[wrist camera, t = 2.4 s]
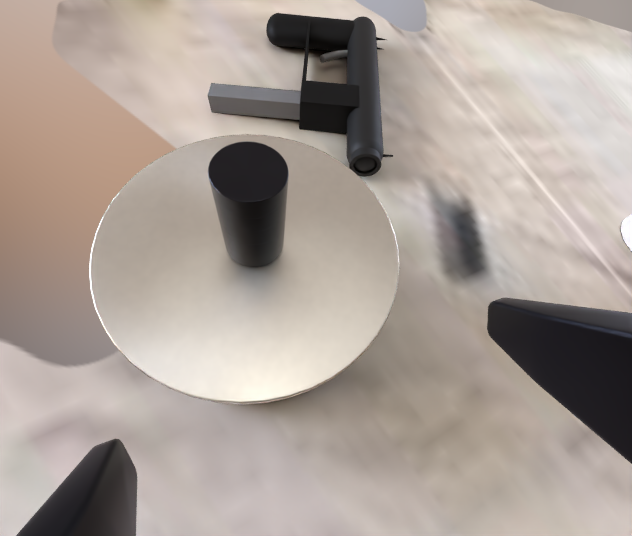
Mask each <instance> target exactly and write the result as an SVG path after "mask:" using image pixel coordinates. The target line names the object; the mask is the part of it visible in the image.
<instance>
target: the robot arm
mask: <svg viewBox="0 0 632 536" xmlns="http://www.w3.org/2000/svg"><path fill="white" fill-rule="evenodd" d="M487 330H488V333H489V335H490V337H491V338H492V339H493V340H494V341H495V342H496V343H497V344H498V345H499V346H500V347H501V348H502V349H503V350H504V351H505V352H506V353H507V354H508V355H509V356H510V357H511V358H512V359H513V360H514V361H515V362H516V363H517V364H518V365H519V366H520V367H521V368H522V369H523V370H524V371H525V372H526V373H527V374H528V375H529V376H530V377H531V378H532V379H533V380H534V381H535V382H536V383H537V384H538V385H540V386H541V387H542V388H543V389H544V390H545V391H547V392H548V393H549V394H550V395H551V396H552V397H554V398H555V399H556V400H557V401H558V402H559V403H561V404H562V405H563V406H564V407H565V408H567V409H568V410H569V411H570V412H571V413H572V414H574V415H575V416H576V417H577V418H578V419H580V420H581V421H582V422H583V423H584V424H585V425H587V426H588V427H589V428H590V429H591V430H592V431H594V432H595V433H596V434H597V435H598V436H600V437H601V438H602V439H603V440H604V441H605V442H607V443H608V444H609V445H610V446H611V447H613V448H614V449H615V450H616V451H617V452H618V453H620V454H621V455H622V456H623V457H624V458H625V459H627V460H628V461H629V462H630V463H631V464H632V313H627V312H619V311H611V310H602V309H594V308H586V307H578V306H570V305H562V304H554V303H545V302H537V301H529V300H521V299H513V298H501V299H498V300H495V301H493V302H491V303H490V304H489V306H488V324H487ZM136 507H137V473H136V469H135V466H134V464H133V462H132V460H131V458H130V456H129V454H128V453H127V451H126V449H125V447H124V445H123V443H122V442H121V441H120V440H119V439H113V440H110V441H108V442H105V443H102V444H99V445H97V446H95V447H94V448H92V450H90V452H89V453H88V454H87V455H86V456H85V457H84V458H83V460H82V461H81V462H80V463H79V464H78V465H77V467H76V468H75V469H74V470H73V471H72V472H71V473H70V475H69V476H68V477H67V478H66V479H65V480H64V481H63V483H62V484H61V485H60V486H59V487H58V488H57V489H56V491H55V492H54V493H53V494H52V495H51V496H50V497H49V499H48V500H47V501H46V502H45V503H44V504H43V505H42V507H41V508H40V509H39V510H38V511H37V512H36V514H35V515H34V516H33V517H32V518H31V519H30V520H29V522H28V523H27V524H26V525H25V526H24V527H23V528H22V530H21V531H20V532H19V533H18V534H17V535H16V536H136Z"/></svg>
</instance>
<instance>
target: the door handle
mask: <svg viewBox="0 0 632 536" xmlns="http://www.w3.org/2000/svg"><path fill="white" fill-rule="evenodd" d="M267 36H268V38H269V40H270V42H271V43H272V44H274V45H277V46H286V47H297V48H306V49H305V58H304V68H303V78H302V86H301V91H293V90H282V89H271V88H260V87H249V86H237V85H226V84H215V83H211V86H210V89H209V93H208V99H209V103H210V107H211V111H212V112H214V113H226V114H237V115H249V116H260V117H272V118H283V119H295V120H300V121H299V129H303V130H315V131H326V132H338V133H347V159H348V162H349V163H350V169H351V170H352V171H353V172H354V173H356V174H357V175H358V176H363V177H365V176H371V175H373V174H375V173H376V172H378V171H379V169H380V167H381V160H382V158H383V157H387V156H390V157H393V155H385V154H383V137H382V121H381V106H380V90H379V74H378V58H377V49H382V48H377V43H376V40H386V39H381V38H377V37H376V29H375V25H374V23H373V22H372V21H371V20H370V19H369V18H367V17H358V18H356V19H355V20H354V21H351V20H341V19H331V18H321V17H311V16H301V15H291V14H281V13H276V14H274V15H272V16H271V17H270V19H269V21H268V23H267ZM309 49H318V50H328V51H334V52H330V53H326V54H324V55H321V56H320V60H321V62H322V63H324V62H327V61H329V60H333V59H337V58H344V57H347V84H338V83H327V82H316V81H306V74H307V63H308V52H309Z"/></svg>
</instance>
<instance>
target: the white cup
mask: <svg viewBox="0 0 632 536" xmlns="http://www.w3.org/2000/svg"><path fill="white" fill-rule="evenodd" d="M620 230H621V233H622V237H623V240H624V241H625V243H626V244H627V246H628V247H629V249H630V250H631V251H632V214H631V215H630V216H628V217H627V218H626V219H625V220H623V221H622V225H621V229H620Z"/></svg>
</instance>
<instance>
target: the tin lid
mask: <svg viewBox="0 0 632 536" xmlns="http://www.w3.org/2000/svg"><path fill="white" fill-rule="evenodd" d="M89 274H90V288H91V293H92V298H93V302H94V306H95V309H96V312H97V314H98V316H99V319H100V321H101V323H102V326H103V328H104V330H105V331H106V333H107V334H108V336H109V337H110V339H111V340H112V342H113V343H114V345H115V346H116V347H117V349H118V350H119V351H120V352H121V353H122V354H123V355H124V356H125V357H126V358H127V359H128V360H129V362H130V363H132V364H133V365H134V366H135V367H137V368H138V369H139V370H141V371H142V372H143V373H144V374H146V375H147V376H148V377H150V378H152V379H154V380H155V381H157V382H159V383H161V384H163V385H164V386H166V387H168V388H170V389H172V390H175V391H178V392H180V393H183V394H186V395H188V396H191V397H194V398H198V399H203V400H207V401H212V402H217V403H228V404H256V403H267V402H272V401H277V400H282V399H286V398H290V397H293V396H296V395H299V394H301V393H304V392H307V391H310V390H312V389H314V388H316V387H318V386H320V385H322V384H323V383H325V382H327V381H329V380H331V379H332V378H334V377H335V376H336V375H338V374H339V373H341V372H342V371H344V370H345V369H346V368H348V367H349V366H350V365H351V364H352V363H353V362H354V361H355V360H357V359H358V358H359V357H360V356H361V355H362V354H363V353H364V352H365V351H366V350H367V348H368V347H369V346H370V345H371V343H372V342H373V341H374V339H375V338H376V337H377V336H378V334H379V332H380V330H381V329H382V327H383V325H384V324H385V322H386V320H387V318H388V316H389V313H390V310H391V308H392V305H393V303H394V299H395V295H396V291H397V286H398V278H399V254H398V247H397V242H396V237H395V233H394V230H393V228H392V225H391V222H390V219H389V217H388V215H387V213H386V211H385V209H384V207H383V205H382V204H381V203H380V201H379V200H378V198H377V197H376V195H375V194H374V192H373V191H372V190H371V189H370V188H369V187H368V185H367V184H366V183H365V182H364V181H363V180H362V179H361V178H360V177H359V176H358V175H357V174H356V173H354V172H353V171H352V170H351V169H350V168H348V167H347V166H346V165H344V164H343V163H341V162H340V161H339V160H337V159H335V158H333V157H332V156H330V155H328V154H327V153H325V152H322V151H320V150H318V149H316V148H314V147H311V146H308V145H306V144H303V143H300V142H297V141H293V140H289V139H285V138H280V137H273V136H266V135H249V134H246V135H229V136H222V137H214V138H210V139H206V140H202V141H198V142H195V143H192V144H189V145H186V146H183V147H181V148H178V149H176V150H174V151H172V152H170V153H168V154H165V155H164V156H162V157H161V158H159V159H157V160H156V161H154V162H152V163H151V164H149V165H148V166H147V167H145V168H144V169H143V170H141V171H140V172H139V173H137V174H136V175H135V176H134V177H133V178H132V179H131V180H130V181H129V182H128V183H127V184H126V185H125V186H124V187H123V188H122V189H121V190H120V192H119V193H118V194H117V195H116V197H115V198H114V199H113V201H112V202H111V204H110V205H109V207H108V209H107V210H106V212H105V213H104V215H103V217H102V219H101V222H100V224H99V227H98V229H97V231H96V234H95V238H94V242H93V245H92V249H91V256H90V268H89Z"/></svg>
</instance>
